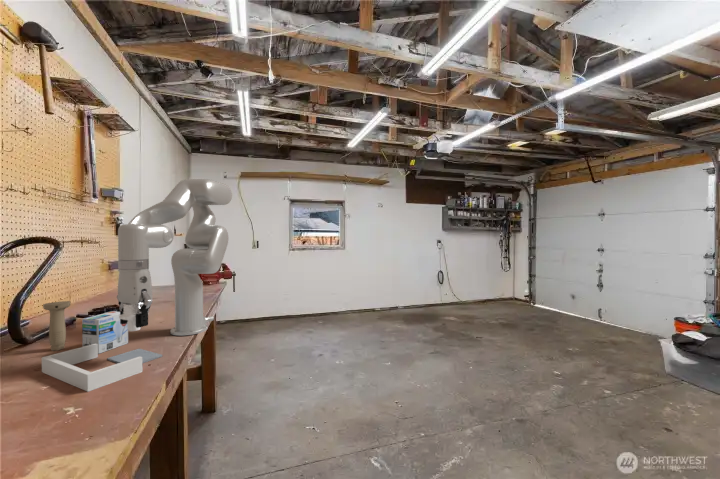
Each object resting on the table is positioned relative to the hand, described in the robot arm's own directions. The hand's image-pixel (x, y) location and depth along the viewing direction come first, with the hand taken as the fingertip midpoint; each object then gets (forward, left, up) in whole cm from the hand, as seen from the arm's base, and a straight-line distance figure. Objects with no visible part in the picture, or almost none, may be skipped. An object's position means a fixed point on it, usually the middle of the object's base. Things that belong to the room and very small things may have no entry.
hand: (134, 324), depth 97 cm
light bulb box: (-1, -18, -11) cm, 21 cm away
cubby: (+10, 0, -10) cm, 15 cm away
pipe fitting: (0, 0, -2) cm, 2 cm away
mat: (0, 0, -10) cm, 10 cm away
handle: (+7, -30, -10) cm, 33 cm away
